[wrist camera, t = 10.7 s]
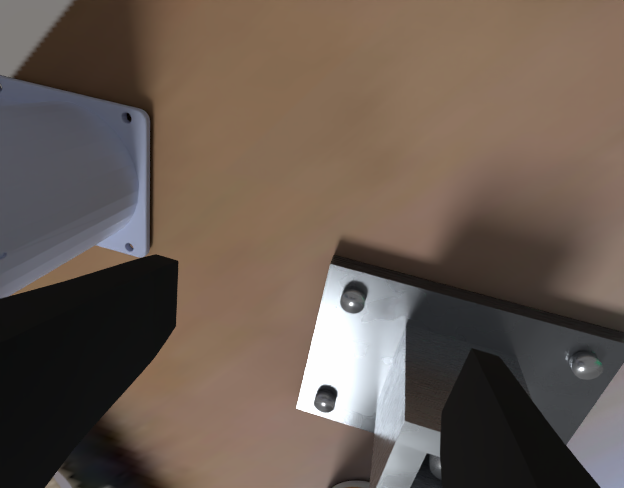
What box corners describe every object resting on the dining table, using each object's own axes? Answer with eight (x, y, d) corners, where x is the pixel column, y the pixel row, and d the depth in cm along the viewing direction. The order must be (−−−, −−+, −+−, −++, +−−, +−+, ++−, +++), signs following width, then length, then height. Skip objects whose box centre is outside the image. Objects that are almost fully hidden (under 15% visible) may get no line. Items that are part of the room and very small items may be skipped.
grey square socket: (377, 401, 22) (367, 508, 17) (405, 324, 20) (404, 421, 15) (475, 432, 22) (496, 552, 16) (516, 356, 19) (557, 469, 14)
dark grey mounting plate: (300, 396, 25) (270, 488, 20) (333, 255, 20) (307, 323, 15) (533, 468, 23) (570, 590, 18) (624, 332, 19) (709, 441, 13)
